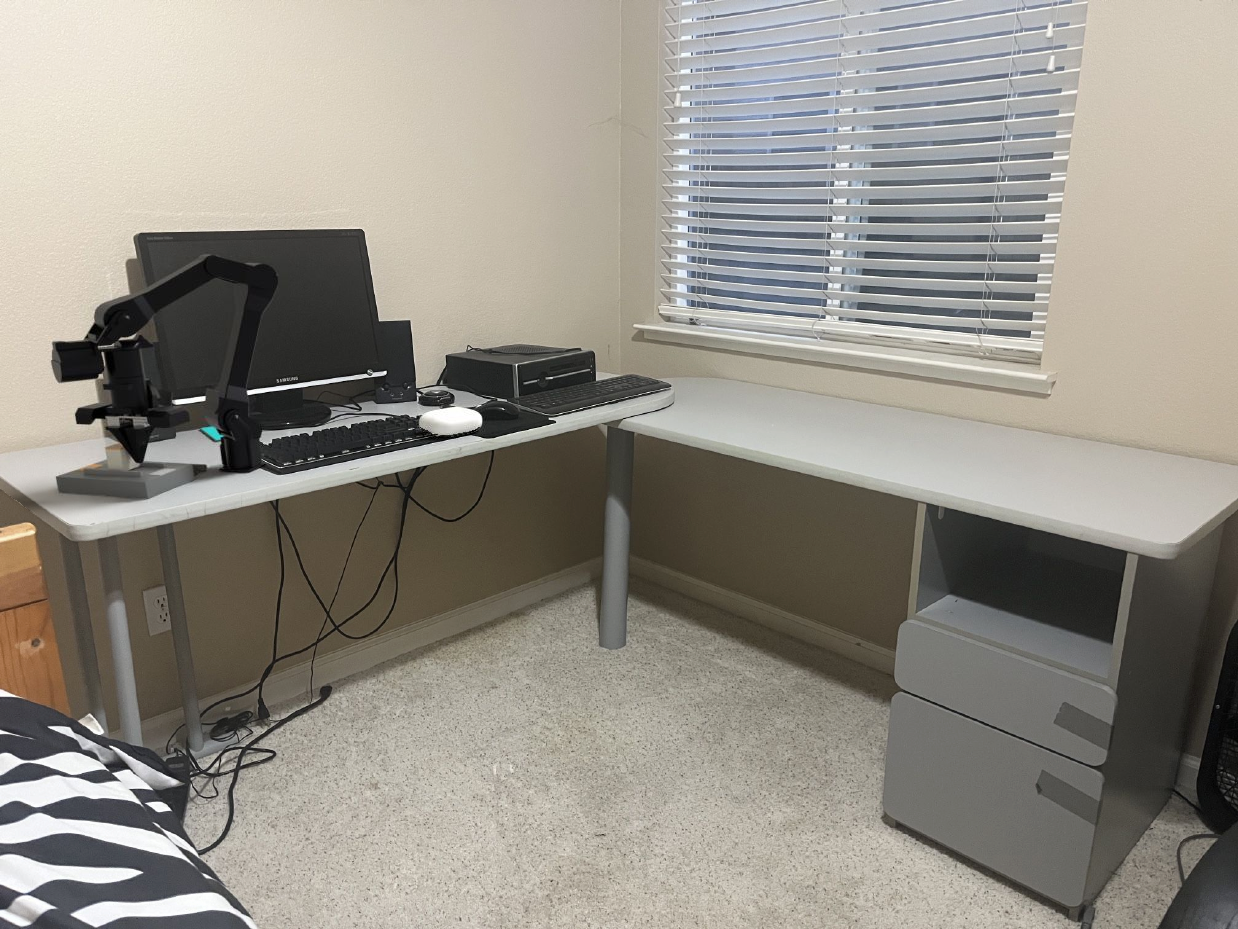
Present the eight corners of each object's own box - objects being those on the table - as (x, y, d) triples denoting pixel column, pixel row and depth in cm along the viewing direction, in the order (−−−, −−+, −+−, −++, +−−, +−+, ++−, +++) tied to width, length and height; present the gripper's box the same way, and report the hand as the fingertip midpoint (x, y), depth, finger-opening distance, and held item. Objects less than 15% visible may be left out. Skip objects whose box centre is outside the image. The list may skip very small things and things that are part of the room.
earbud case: (414, 434, 195) (412, 410, 194) (463, 425, 204) (462, 402, 202) (438, 442, 188) (437, 417, 187) (488, 432, 197) (487, 409, 195)
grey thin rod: (207, 470, 166) (206, 463, 166) (203, 472, 165) (202, 465, 165) (141, 468, 168) (140, 461, 168) (136, 470, 167) (135, 463, 166)
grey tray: (194, 479, 160) (191, 459, 159) (147, 499, 149) (144, 477, 148) (110, 474, 164) (107, 454, 163) (58, 493, 153) (54, 472, 152)
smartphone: (232, 423, 204) (250, 435, 192) (232, 426, 204) (250, 438, 193) (198, 428, 200) (214, 440, 188) (199, 431, 200) (215, 444, 188)
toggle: (140, 465, 157) (136, 442, 156) (123, 471, 154) (119, 448, 152) (125, 465, 158) (121, 442, 157) (108, 470, 154) (105, 447, 153)
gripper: (204, 369, 156) (215, 453, 161) (113, 367, 160) (127, 449, 164) (161, 380, 146) (174, 469, 150) (65, 377, 149) (80, 464, 154)
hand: (139, 462), depth 155 cm, fingers closed
